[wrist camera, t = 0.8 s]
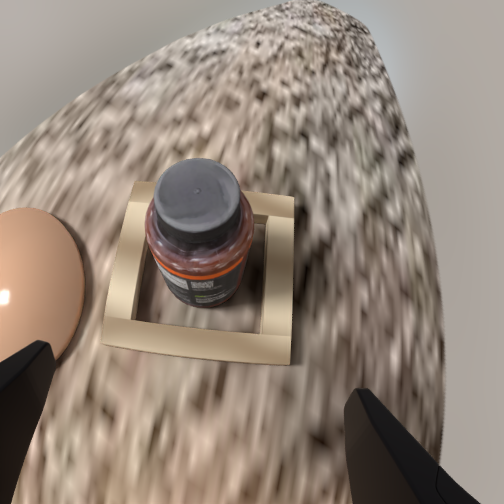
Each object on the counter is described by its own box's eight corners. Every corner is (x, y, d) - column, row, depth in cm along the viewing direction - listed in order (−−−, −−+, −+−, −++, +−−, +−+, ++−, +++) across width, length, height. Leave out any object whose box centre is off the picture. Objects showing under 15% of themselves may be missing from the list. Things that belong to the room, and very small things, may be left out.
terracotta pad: (25, 417, 18) (19, 418, 17) (-61, 306, 20) (-67, 303, 19) (120, 269, 24) (117, 265, 23) (18, 188, 25) (13, 182, 24)
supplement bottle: (214, 223, 26) (218, 124, 16) (257, 282, 25) (291, 208, 15) (150, 260, 25) (113, 176, 14) (191, 325, 23) (174, 279, 13)
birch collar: (285, 365, 23) (289, 364, 21) (106, 345, 22) (100, 343, 20) (290, 206, 28) (294, 197, 26) (137, 190, 27) (134, 180, 25)
